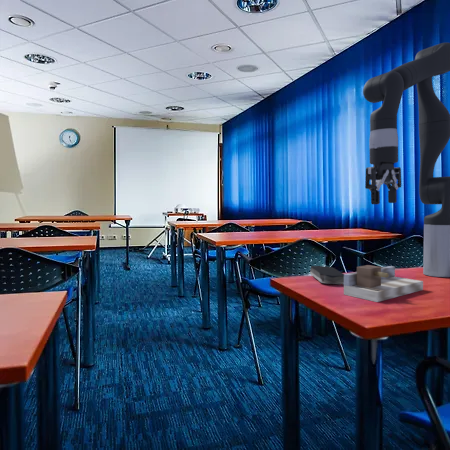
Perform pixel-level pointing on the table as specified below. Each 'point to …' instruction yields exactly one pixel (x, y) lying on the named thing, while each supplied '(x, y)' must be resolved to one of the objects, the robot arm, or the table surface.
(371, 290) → the grey flat tray
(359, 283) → the brown block with peg
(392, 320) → the table surface
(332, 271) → the black sponge
